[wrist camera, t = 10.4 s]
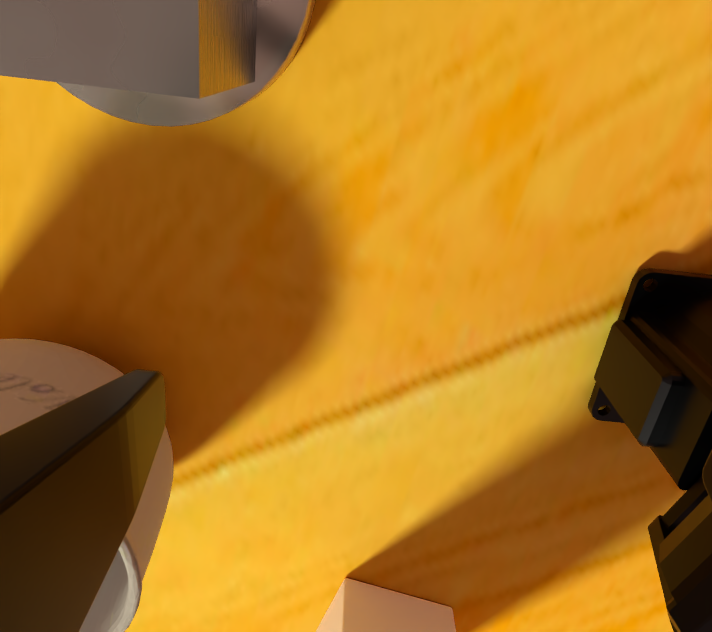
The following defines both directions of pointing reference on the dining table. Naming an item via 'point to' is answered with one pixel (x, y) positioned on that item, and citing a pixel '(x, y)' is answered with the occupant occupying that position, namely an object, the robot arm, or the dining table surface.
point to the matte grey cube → (132, 44)
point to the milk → (383, 611)
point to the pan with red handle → (273, 54)
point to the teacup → (52, 389)
